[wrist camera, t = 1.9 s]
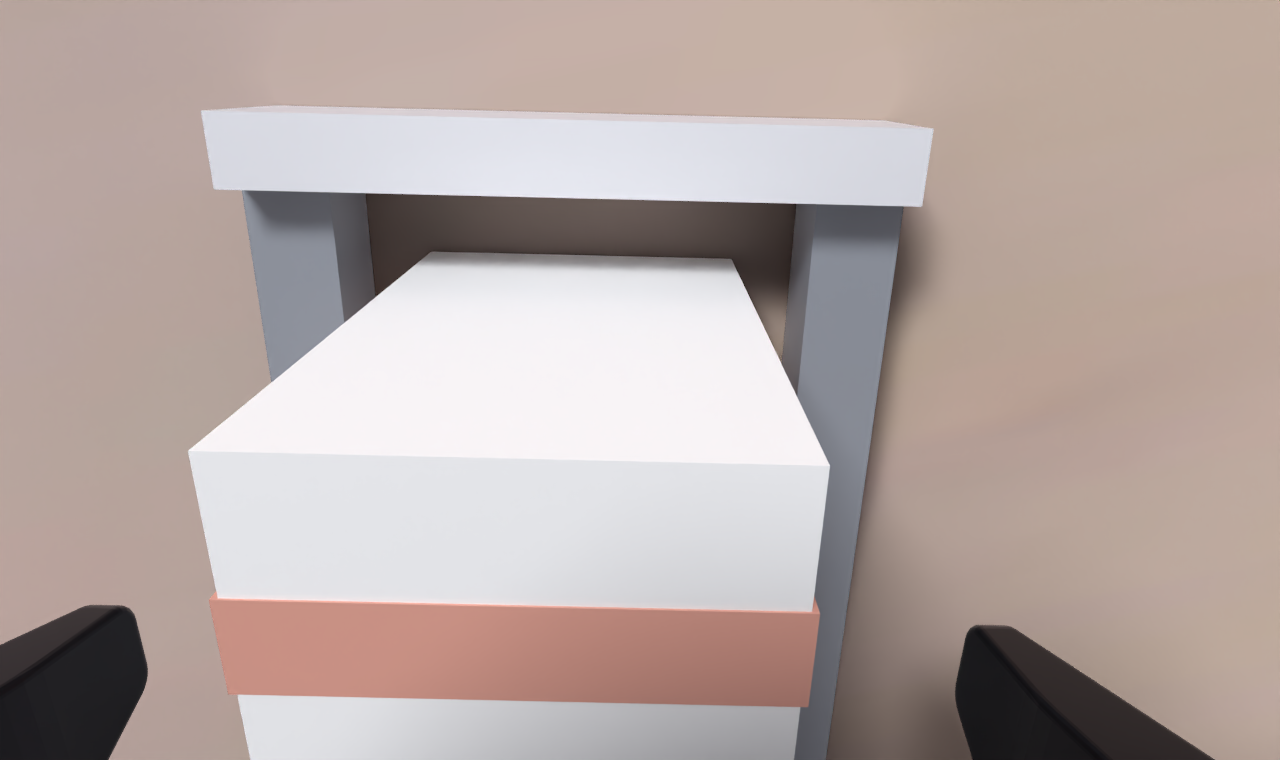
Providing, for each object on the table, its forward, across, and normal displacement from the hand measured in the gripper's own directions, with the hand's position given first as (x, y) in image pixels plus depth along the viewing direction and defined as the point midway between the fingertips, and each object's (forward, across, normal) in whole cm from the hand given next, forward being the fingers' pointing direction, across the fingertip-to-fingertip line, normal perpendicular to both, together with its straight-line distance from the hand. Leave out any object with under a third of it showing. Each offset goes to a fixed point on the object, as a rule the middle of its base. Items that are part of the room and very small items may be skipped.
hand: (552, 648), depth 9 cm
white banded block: (+4, 0, 0) cm, 4 cm away
